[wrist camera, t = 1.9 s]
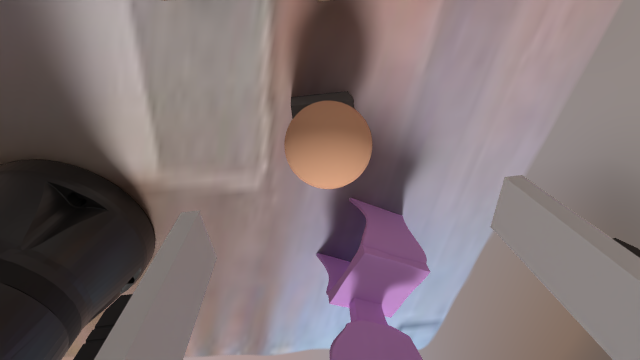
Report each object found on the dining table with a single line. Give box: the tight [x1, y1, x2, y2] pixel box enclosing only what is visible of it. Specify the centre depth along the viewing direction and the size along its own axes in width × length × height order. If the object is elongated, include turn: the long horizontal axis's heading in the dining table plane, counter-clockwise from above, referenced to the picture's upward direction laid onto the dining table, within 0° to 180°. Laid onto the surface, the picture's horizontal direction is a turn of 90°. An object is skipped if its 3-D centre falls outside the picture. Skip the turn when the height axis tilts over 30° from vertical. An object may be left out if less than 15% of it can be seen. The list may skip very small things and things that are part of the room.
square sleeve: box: [291, 91, 354, 118], centre depth 23 cm, size 5×5×2 cm
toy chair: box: [316, 198, 430, 360], centre depth 24 cm, size 8×9×15 cm
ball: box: [285, 101, 372, 189], centre depth 19 cm, size 6×6×6 cm
